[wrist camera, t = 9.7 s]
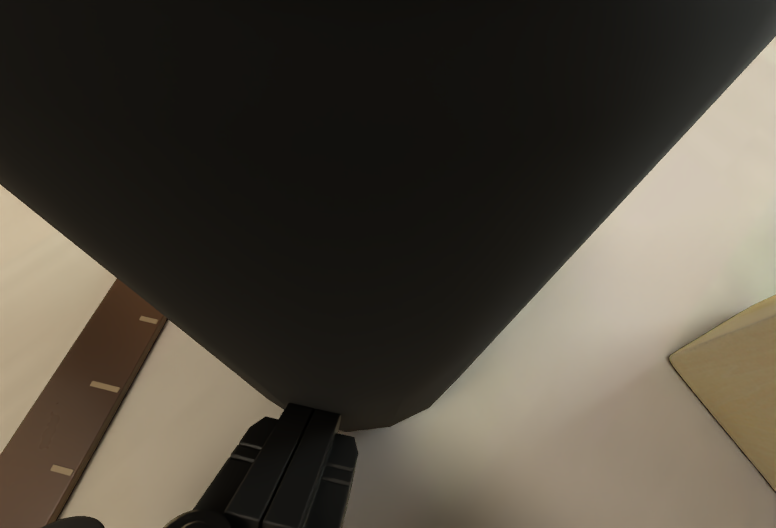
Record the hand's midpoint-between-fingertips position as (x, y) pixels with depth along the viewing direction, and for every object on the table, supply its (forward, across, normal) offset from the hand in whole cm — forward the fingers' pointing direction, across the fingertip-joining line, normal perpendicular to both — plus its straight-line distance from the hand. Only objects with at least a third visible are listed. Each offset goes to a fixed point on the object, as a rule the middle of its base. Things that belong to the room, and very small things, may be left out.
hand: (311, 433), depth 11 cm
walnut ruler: (+4, +10, +3) cm, 11 cm away
